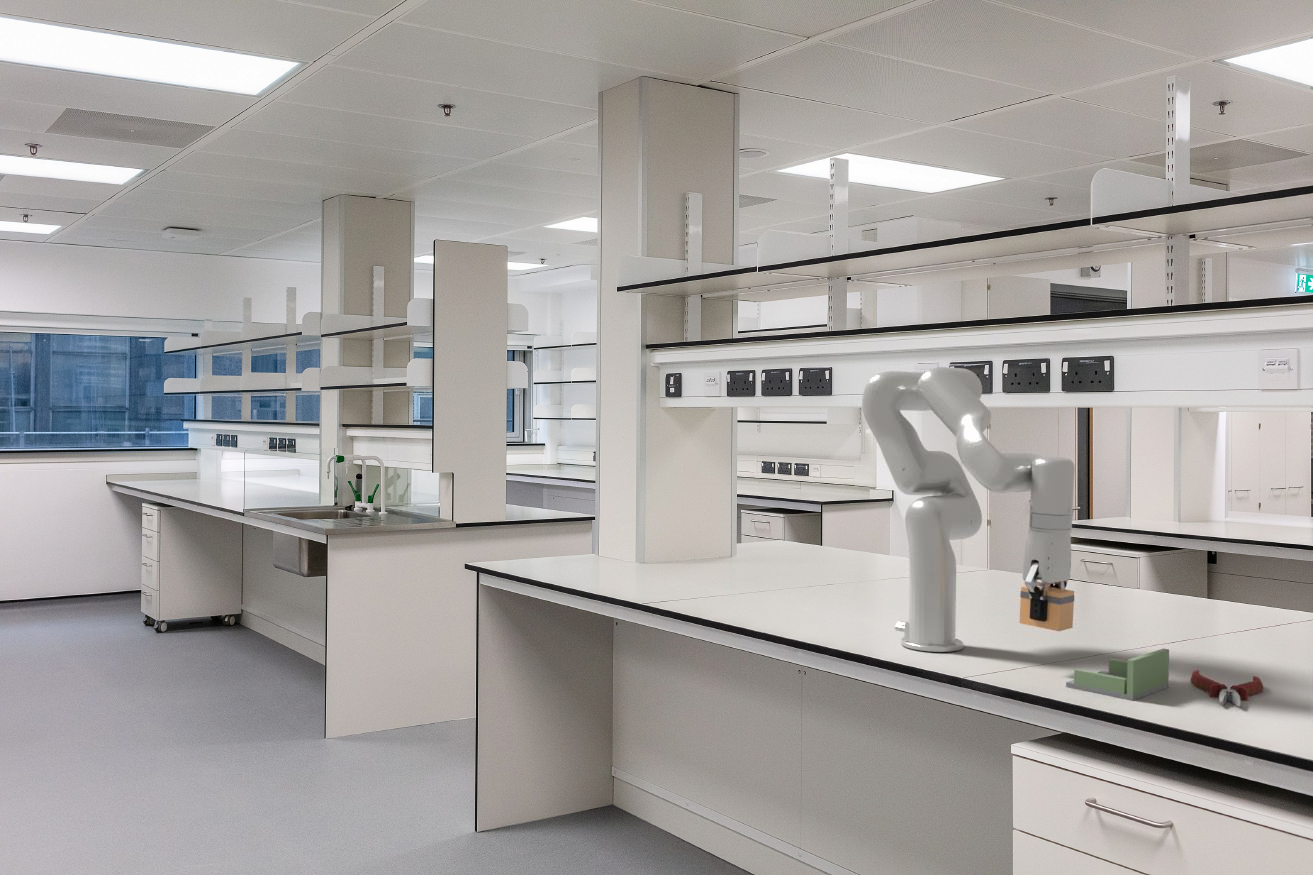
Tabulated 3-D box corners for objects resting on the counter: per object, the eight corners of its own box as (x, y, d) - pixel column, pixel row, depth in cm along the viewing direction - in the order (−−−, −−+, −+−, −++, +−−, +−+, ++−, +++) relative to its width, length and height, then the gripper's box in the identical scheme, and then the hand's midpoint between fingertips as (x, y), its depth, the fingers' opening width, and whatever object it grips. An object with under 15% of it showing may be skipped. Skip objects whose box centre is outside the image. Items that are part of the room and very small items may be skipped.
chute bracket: (1066, 686, 189) (1066, 648, 189) (1103, 674, 198) (1103, 638, 198) (1132, 700, 180) (1133, 660, 180) (1168, 687, 189) (1169, 649, 189)
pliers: (1191, 707, 177) (1192, 692, 177) (1190, 681, 195) (1190, 667, 195) (1270, 716, 172) (1270, 701, 172) (1261, 689, 190) (1261, 675, 190)
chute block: (1019, 623, 201) (1020, 586, 200) (1033, 619, 204) (1034, 583, 204) (1059, 631, 195) (1061, 593, 194) (1072, 627, 198) (1074, 590, 198)
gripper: (1054, 517, 207) (1050, 609, 208) (1008, 523, 196) (1003, 620, 197) (1091, 522, 201) (1087, 616, 202) (1045, 528, 190) (1041, 627, 191)
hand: (1046, 617), depth 199 cm, fingers closed on chute block, 5 cm apart
